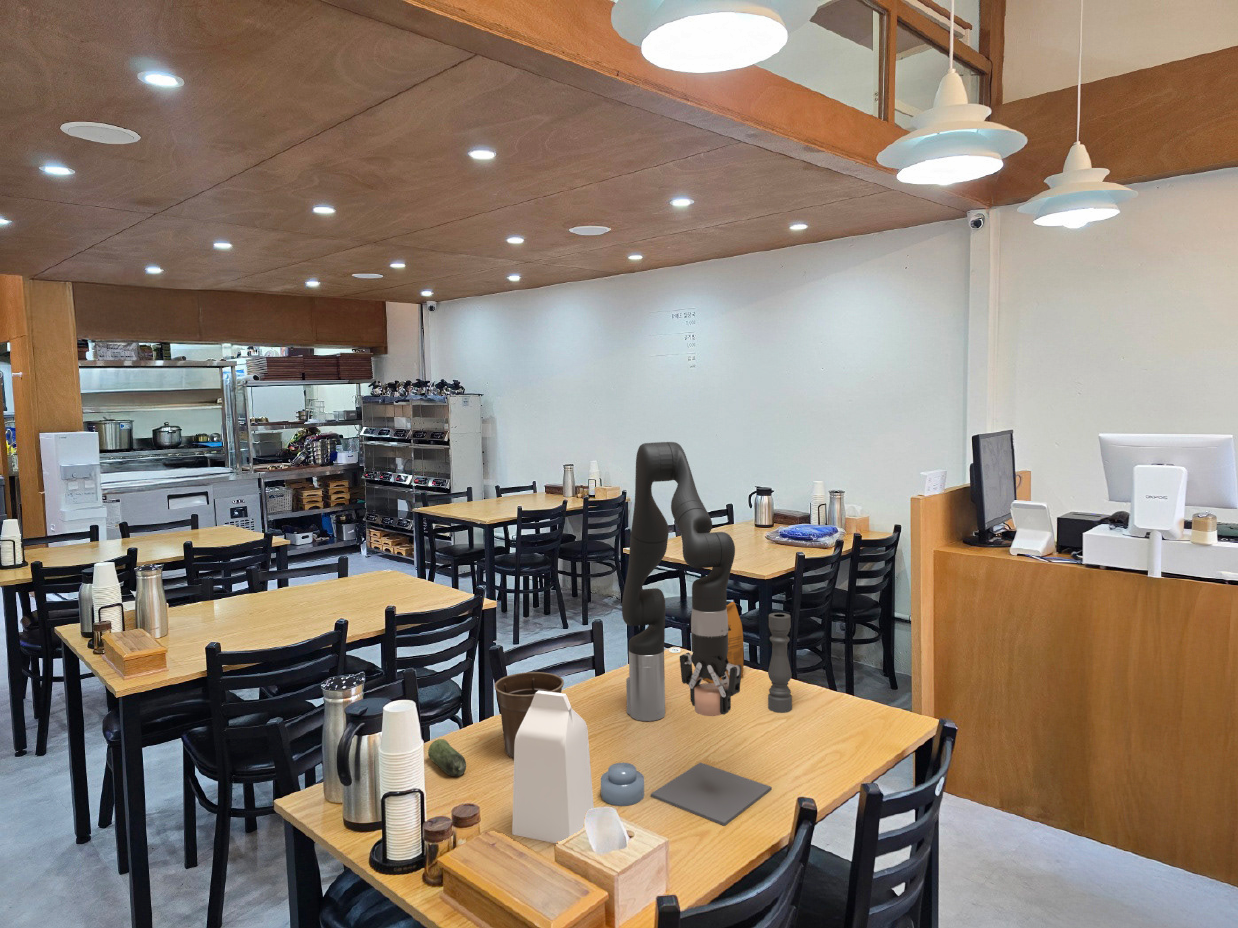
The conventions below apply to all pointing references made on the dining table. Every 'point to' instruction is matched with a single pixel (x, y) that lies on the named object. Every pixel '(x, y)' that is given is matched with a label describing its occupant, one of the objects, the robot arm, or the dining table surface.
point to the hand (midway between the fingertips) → (710, 708)
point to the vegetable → (447, 758)
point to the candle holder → (779, 664)
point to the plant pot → (521, 700)
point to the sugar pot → (622, 785)
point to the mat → (711, 793)
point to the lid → (707, 699)
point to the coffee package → (733, 639)
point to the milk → (551, 770)
